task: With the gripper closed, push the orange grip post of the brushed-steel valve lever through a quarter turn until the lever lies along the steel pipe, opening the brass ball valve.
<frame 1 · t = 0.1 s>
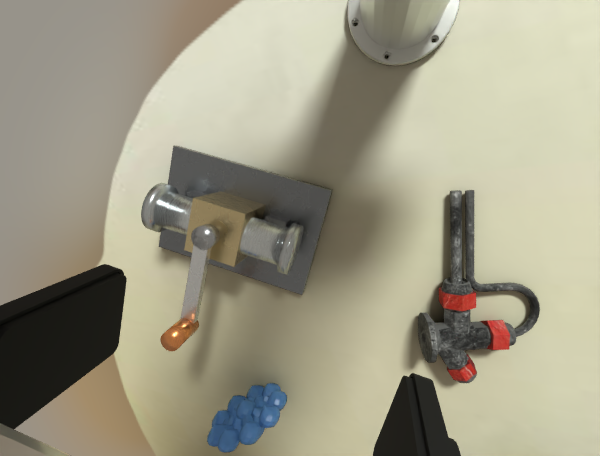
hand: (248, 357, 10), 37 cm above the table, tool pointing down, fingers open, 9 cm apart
lever: (189, 286, 38), point 13 cm above the table, hinge at 0.0°
grapes: (263, 391, 55), on the table
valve: (474, 283, 45), on the table
valve body: (241, 219, 49), on the table
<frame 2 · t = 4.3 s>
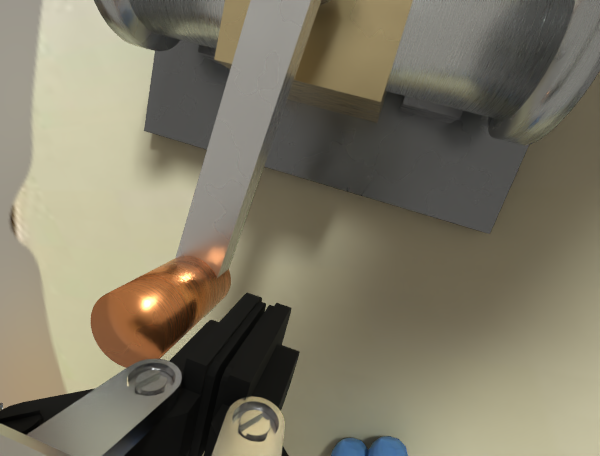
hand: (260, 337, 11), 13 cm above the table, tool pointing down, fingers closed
lever: (228, 128, 10), point 13 cm above the table, hinge at -5.9°, touching gripper
grapes: (357, 449, 27), on the table
valve body: (340, 54, 21), on the table
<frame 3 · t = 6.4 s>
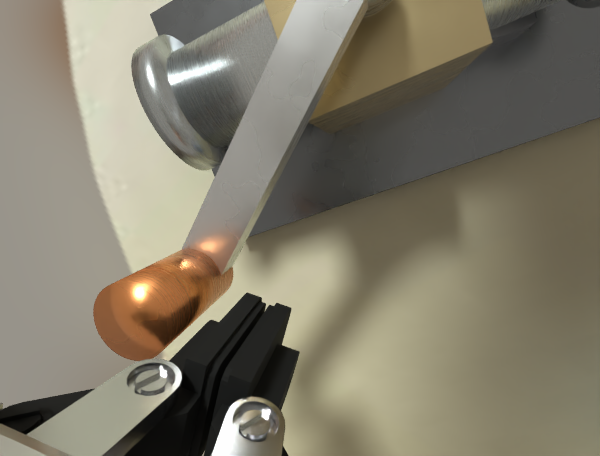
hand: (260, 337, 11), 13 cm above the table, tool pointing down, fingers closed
lever: (255, 131, 10), point 13 cm above the table, hinge at -50.0°, touching gripper
valve body: (366, 60, 20), on the table
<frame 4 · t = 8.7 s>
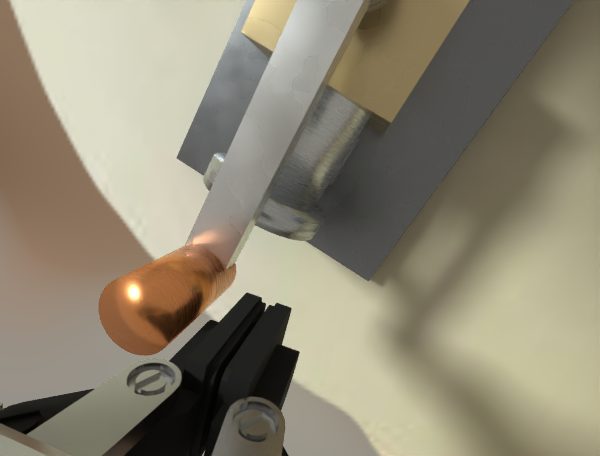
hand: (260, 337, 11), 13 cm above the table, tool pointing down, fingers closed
lever: (258, 126, 10), point 13 cm above the table, hinge at -88.3°, touching gripper
valve body: (367, 56, 20), on the table
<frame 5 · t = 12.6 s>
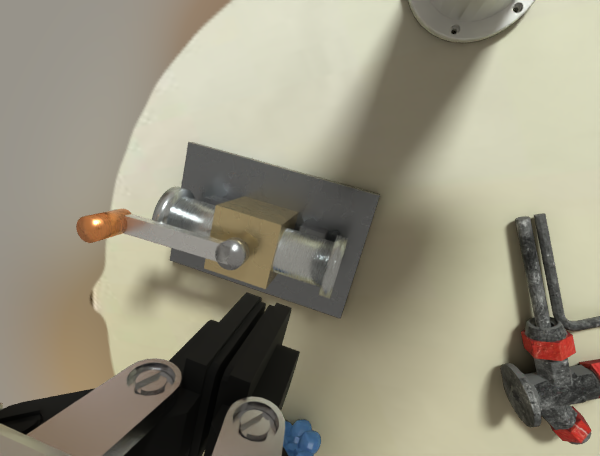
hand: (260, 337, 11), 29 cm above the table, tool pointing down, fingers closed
lever: (166, 241, 30), point 13 cm above the table, hinge at -88.4°
grapes: (289, 427, 48), on the table
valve: (562, 318, 37), on the table
valve body: (267, 228, 42), on the table
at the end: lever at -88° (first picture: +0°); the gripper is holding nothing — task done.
